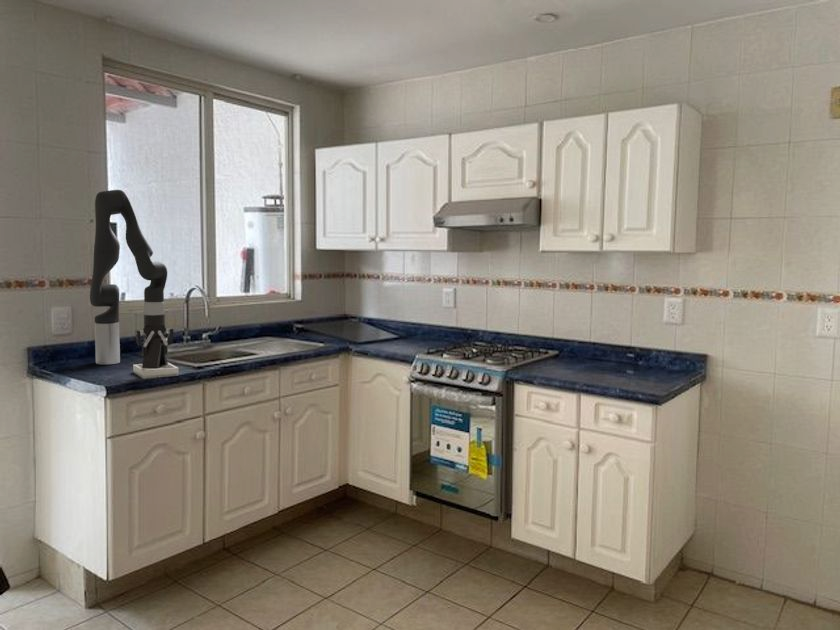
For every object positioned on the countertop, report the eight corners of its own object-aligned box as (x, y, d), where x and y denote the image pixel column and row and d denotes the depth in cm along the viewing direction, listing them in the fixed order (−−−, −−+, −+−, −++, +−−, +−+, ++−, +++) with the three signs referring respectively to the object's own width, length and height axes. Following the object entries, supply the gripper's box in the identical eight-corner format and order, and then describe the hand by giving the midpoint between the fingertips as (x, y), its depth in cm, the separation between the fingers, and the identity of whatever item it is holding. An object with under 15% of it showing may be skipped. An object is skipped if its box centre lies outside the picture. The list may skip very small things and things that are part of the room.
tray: (133, 372, 253) (133, 364, 253) (167, 369, 261) (167, 361, 261) (143, 378, 242) (143, 371, 241) (178, 375, 250) (178, 367, 249)
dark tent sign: (153, 363, 256) (153, 334, 254) (167, 364, 255) (167, 334, 254) (141, 368, 247) (141, 337, 245) (156, 368, 246) (156, 337, 245)
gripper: (137, 315, 241) (138, 358, 243) (176, 313, 250) (176, 355, 252) (132, 313, 247) (133, 355, 249) (170, 311, 256) (171, 352, 258)
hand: (155, 355), depth 251 cm, fingers closed on dark tent sign, 6 cm apart
